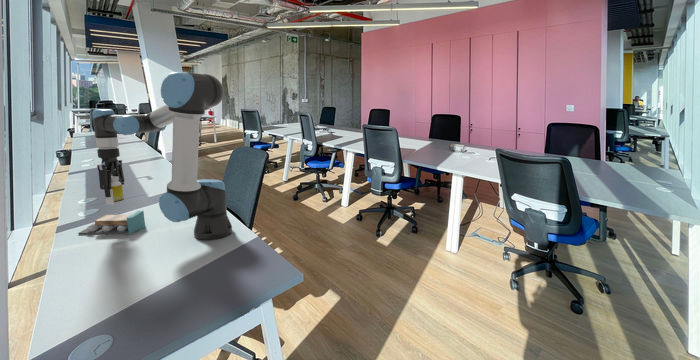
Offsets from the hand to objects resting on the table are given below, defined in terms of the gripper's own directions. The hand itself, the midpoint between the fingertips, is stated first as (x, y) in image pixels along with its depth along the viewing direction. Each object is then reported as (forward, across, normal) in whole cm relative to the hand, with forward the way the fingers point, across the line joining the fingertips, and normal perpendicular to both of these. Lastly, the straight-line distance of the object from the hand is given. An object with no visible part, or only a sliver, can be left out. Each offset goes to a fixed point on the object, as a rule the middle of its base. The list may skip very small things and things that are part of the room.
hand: (115, 201), depth 153 cm
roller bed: (+13, 0, -2) cm, 13 cm away
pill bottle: (0, 0, 0) cm, 0 cm away
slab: (+9, 0, 0) cm, 9 cm away
